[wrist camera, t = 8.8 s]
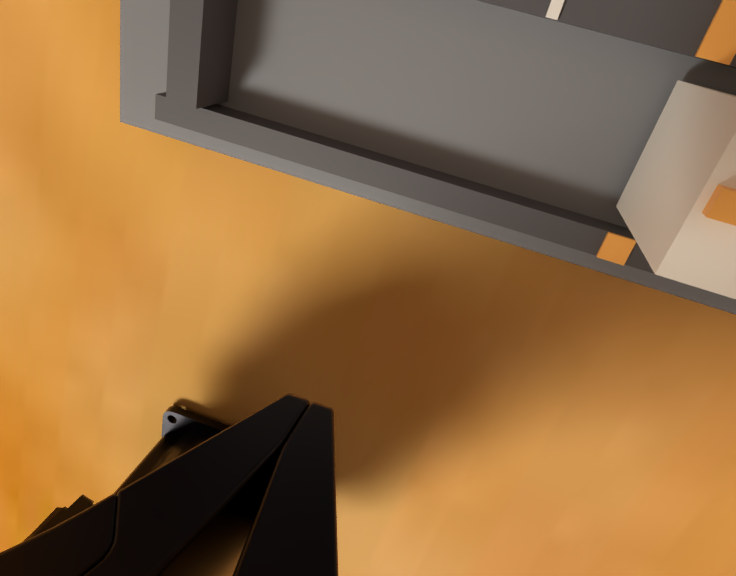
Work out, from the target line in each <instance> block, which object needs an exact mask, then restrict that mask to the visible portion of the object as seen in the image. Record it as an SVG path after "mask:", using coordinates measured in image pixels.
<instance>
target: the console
mask: <svg viewBox="0 0 736 576" xmlns="http://www.w3.org/2000/svg"><path fill="white" fill-rule="evenodd" d="M678 80H680V81H683V82H687V83H691V84H695V85H698V86H702V87H706V88H709V89H713V90H717V91H721V92H724V93H728V94H732V95H736V0H120V122H123V123H126V124H129V125H132V126H135V127H139V128H142V129H145V130H148V131H151V132H155V133H158V134H161V135H164V136H167V137H171V138H174V139H177V140H180V141H183V142H187V143H190V144H193V145H196V146H199V147H203V148H206V149H209V150H212V151H215V152H218V153H222V154H225V155H228V156H231V157H234V158H238V159H241V160H244V161H247V162H250V163H254V164H257V165H260V166H263V167H266V168H270V169H273V170H276V171H279V172H282V173H286V174H289V175H292V176H295V177H298V178H302V179H305V180H308V181H311V182H314V183H317V184H321V185H324V186H327V187H330V188H333V189H337V190H340V191H343V192H346V193H349V194H353V195H356V196H359V197H362V198H365V199H369V200H372V201H375V202H378V203H381V204H385V205H388V206H391V207H394V208H397V209H401V210H404V211H407V212H410V213H413V214H416V215H420V216H423V217H426V218H429V219H432V220H436V221H439V222H442V223H445V224H448V225H452V226H455V227H458V228H461V229H464V230H468V231H471V232H474V233H477V234H480V235H484V236H487V237H490V238H493V239H496V240H500V241H503V242H506V243H509V244H512V245H515V246H519V247H522V248H525V249H528V250H531V251H535V252H538V253H541V254H544V255H547V256H551V257H554V258H557V259H560V260H563V261H567V262H570V263H573V264H576V265H579V266H583V267H586V268H589V269H592V270H595V271H599V272H602V273H605V274H608V275H611V276H615V277H618V278H621V279H624V280H627V281H630V282H634V283H637V284H640V285H643V286H646V287H650V288H653V289H656V290H659V291H662V292H666V293H669V294H672V295H675V296H678V297H682V298H685V299H688V300H691V301H694V302H698V303H701V304H704V305H707V306H710V307H714V308H717V309H720V310H723V311H726V312H729V313H733V314H736V299H733V298H730V297H726V296H723V295H720V294H717V293H714V292H710V291H707V290H704V289H701V288H697V287H694V286H691V285H688V284H685V283H681V282H678V281H675V280H672V279H668V278H665V277H662V276H659V275H655V273H654V272H653V270H652V268H651V266H650V265H649V263H648V261H647V259H646V258H645V256H644V254H643V252H642V251H641V249H640V247H639V245H638V244H637V242H636V240H635V238H634V237H633V235H632V233H631V231H630V230H629V228H628V226H627V224H626V223H625V221H624V219H623V217H622V216H621V214H620V212H619V210H618V209H617V207H616V205H617V203H618V201H619V199H620V197H621V195H622V193H623V191H624V189H625V187H626V185H627V183H628V181H629V179H630V177H631V175H632V173H633V171H634V169H635V166H636V164H637V162H638V160H639V158H640V156H641V154H642V152H643V150H644V148H645V146H646V144H647V142H648V140H649V138H650V136H651V134H652V132H653V130H654V128H655V126H656V124H657V121H658V119H659V117H660V115H661V113H662V111H663V109H664V107H665V105H666V103H667V101H668V99H669V97H670V95H671V93H672V91H673V89H674V87H675V85H676V83H677V81H678Z"/></svg>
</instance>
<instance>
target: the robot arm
mask: <svg viewBox="0 0 736 576" xmlns="http://www.w3.org/2000/svg"><path fill="white" fill-rule="evenodd" d="M93 502H94V501H92V500H91V499H89V498H88V497H86V496H85V495H82V496H81V497H79V498H78V499H77V500H76V501H75V502H74V503H73V504H72V505H71V506H70V507H69V508H66V507H64V508H58V507H57V508H56V509H55V510H54V511H53V512H52V513H51V514H50V515H49V516H48V517H47V518H46V519H45V520H44V521H43V522H42V523H41V524H40V525H39V527H38V528H37V529H36V530H35V531H34V532H33V533H32V534H31V535H30V536H28V537H27V538H26V539H25V540H24V541H23V542H22V543H20V544H18V545H16V546H14V547H12V548H10V549H7V550H5V551H3V552H1V553H0V576H338V551H337V515H336V480H335V444H334V412H333V410H332V409H331V408H329V407H327V406H324V405H321V404H318V403H315V402H313V403H311V404H310V402H309V401H308V400H307V399H304V398H301V397H298V396H296V395H293V394H286V395H284V396H283V397H281V398H279V399H277V400H276V401H274V402H272V403H270V404H269V405H267V406H265V407H263V408H262V409H260V410H258V411H256V412H255V413H253V414H251V415H250V416H248V417H246V418H244V419H243V420H241V421H239V422H237V423H236V424H234V425H232V426H230V427H229V426H227V425H224V424H221V423H219V422H216V421H213V420H211V419H208V418H205V417H203V416H200V415H197V414H195V413H192V412H189V411H187V410H184V409H181V408H179V407H175V406H172V407H170V408H168V409H167V410H166V412H165V413H164V414H163V424H162V438H161V440H160V441H159V442H158V443H157V444H156V445H155V447H154V448H153V449H152V450H151V451H150V452H149V453H148V455H147V456H146V457H145V458H144V459H143V460H142V462H141V463H140V464H139V465H138V466H137V467H136V468H135V470H134V471H133V472H132V473H131V474H130V475H129V477H128V478H127V479H126V480H125V481H124V482H123V483H122V485H121V486H120V487H119V488H118V489H117V490H116V491H115V493H114V494H112V495H110V496H108V497H107V498H105V499H103V500H101V501H100V502H98V503H96V504H95V505H94V504H93Z"/></svg>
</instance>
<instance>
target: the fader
mask: <svg viewBox="0 0 736 576" xmlns="http://www.w3.org/2000/svg"><path fill="white" fill-rule="evenodd" d="M616 207H617V209H618V210H619V212H620V214H621V216H622V217H623V219H624V221H625V223H626V224H627V226H628V228H629V230H630V231H631V233H632V235H633V237H634V238H635V240H636V242H637V244H638V245H639V247H640V249H641V251H642V252H643V254H644V256H645V258H646V259H647V261H648V263H649V265H650V266H651V268H652V270H653V272H654V273H655V275H659V276H662V277H665V278H668V279H672V280H675V281H678V282H681V283H685V284H688V285H691V286H694V287H697V288H701V289H704V290H707V291H710V292H714V293H717V294H720V295H723V296H726V297H730V298H733V299H736V95H732V94H728V93H724V92H721V91H717V90H713V89H709V88H706V87H702V86H698V85H695V84H691V83H687V82H683V81H680V80H678V81H677V83H676V85H675V87H674V89H673V91H672V93H671V95H670V97H669V99H668V101H667V103H666V105H665V107H664V109H663V111H662V113H661V115H660V117H659V119H658V121H657V124H656V126H655V128H654V130H653V132H652V134H651V136H650V138H649V140H648V142H647V144H646V146H645V148H644V150H643V152H642V154H641V156H640V158H639V160H638V162H637V164H636V166H635V169H634V171H633V173H632V175H631V177H630V179H629V181H628V183H627V185H626V187H625V189H624V191H623V193H622V195H621V197H620V199H619V201H618V203H617V205H616Z"/></svg>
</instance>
